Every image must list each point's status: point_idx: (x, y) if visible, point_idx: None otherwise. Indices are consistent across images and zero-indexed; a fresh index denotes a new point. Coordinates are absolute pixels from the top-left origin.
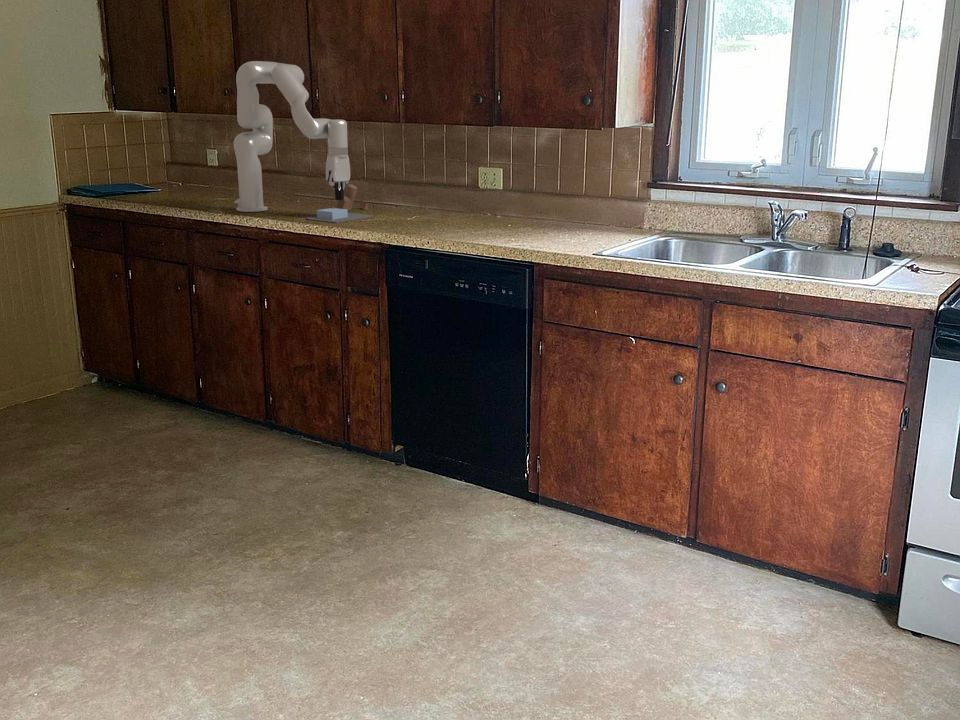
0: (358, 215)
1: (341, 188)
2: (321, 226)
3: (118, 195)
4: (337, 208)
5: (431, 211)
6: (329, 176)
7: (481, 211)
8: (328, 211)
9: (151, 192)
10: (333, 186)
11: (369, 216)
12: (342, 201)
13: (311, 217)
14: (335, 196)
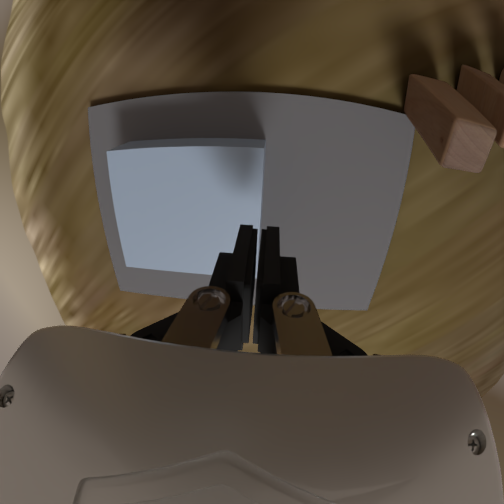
0: (340, 264)
1: (260, 347)
2: (56, 280)
3: None
4: (259, 202)
5: (493, 351)
6: (60, 413)
7: (482, 396)
8: (122, 240)
9: None
10: (154, 330)
11: (343, 308)
12: (439, 142)
13: (125, 103)
14: (237, 239)
